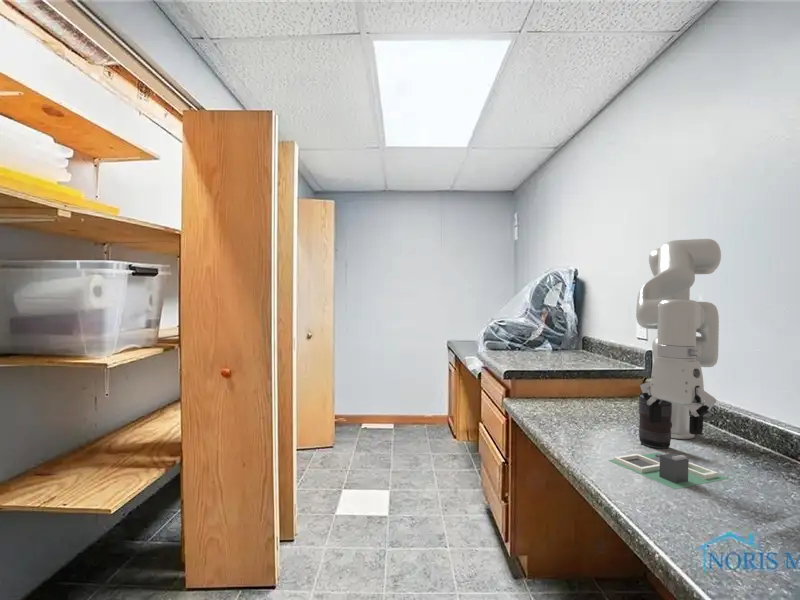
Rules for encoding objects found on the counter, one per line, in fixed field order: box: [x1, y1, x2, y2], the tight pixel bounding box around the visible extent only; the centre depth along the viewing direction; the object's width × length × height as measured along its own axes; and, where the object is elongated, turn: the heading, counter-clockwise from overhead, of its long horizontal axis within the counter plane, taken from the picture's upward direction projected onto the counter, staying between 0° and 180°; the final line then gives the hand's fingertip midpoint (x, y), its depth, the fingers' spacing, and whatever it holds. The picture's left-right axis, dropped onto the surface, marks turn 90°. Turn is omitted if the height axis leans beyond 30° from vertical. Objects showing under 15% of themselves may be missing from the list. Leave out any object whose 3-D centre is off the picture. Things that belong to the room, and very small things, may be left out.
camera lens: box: [638, 394, 672, 450], centre depth 124 cm, size 8×8×15 cm
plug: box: [659, 453, 689, 483], centre depth 100 cm, size 4×4×6 cm
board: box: [607, 452, 730, 490], centre depth 106 cm, size 18×18×2 cm
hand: (674, 427), depth 100 cm, fingers open, 9 cm apart
